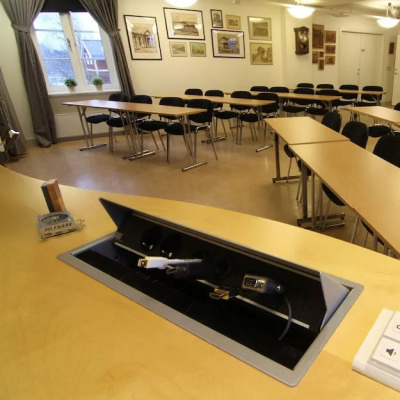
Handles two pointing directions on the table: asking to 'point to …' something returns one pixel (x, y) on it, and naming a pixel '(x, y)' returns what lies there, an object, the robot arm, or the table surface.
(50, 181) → the brush
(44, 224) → the graphics card
